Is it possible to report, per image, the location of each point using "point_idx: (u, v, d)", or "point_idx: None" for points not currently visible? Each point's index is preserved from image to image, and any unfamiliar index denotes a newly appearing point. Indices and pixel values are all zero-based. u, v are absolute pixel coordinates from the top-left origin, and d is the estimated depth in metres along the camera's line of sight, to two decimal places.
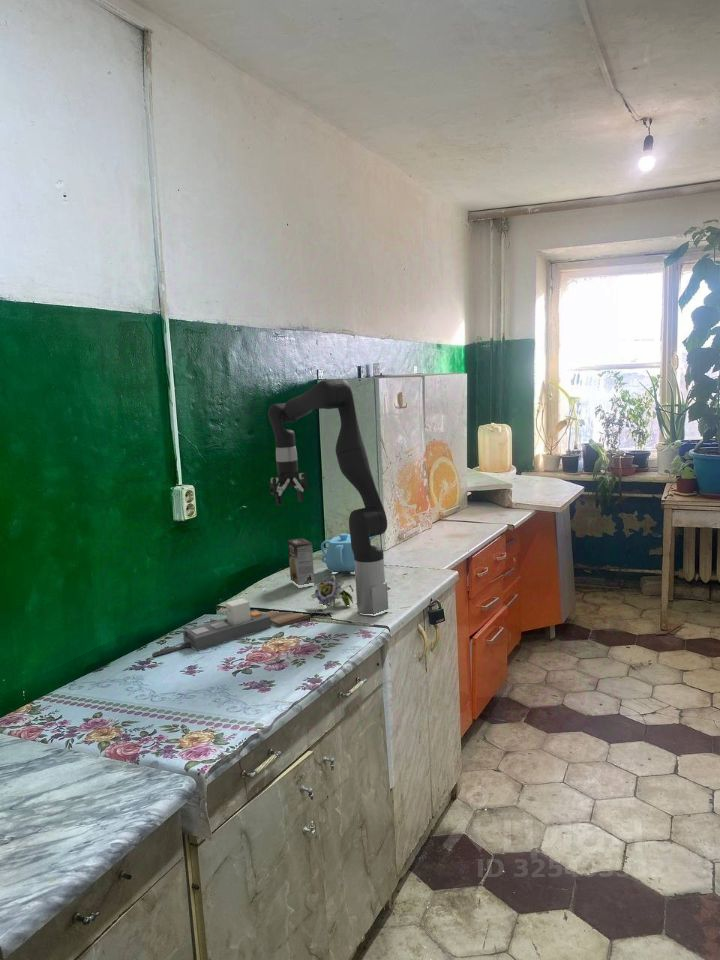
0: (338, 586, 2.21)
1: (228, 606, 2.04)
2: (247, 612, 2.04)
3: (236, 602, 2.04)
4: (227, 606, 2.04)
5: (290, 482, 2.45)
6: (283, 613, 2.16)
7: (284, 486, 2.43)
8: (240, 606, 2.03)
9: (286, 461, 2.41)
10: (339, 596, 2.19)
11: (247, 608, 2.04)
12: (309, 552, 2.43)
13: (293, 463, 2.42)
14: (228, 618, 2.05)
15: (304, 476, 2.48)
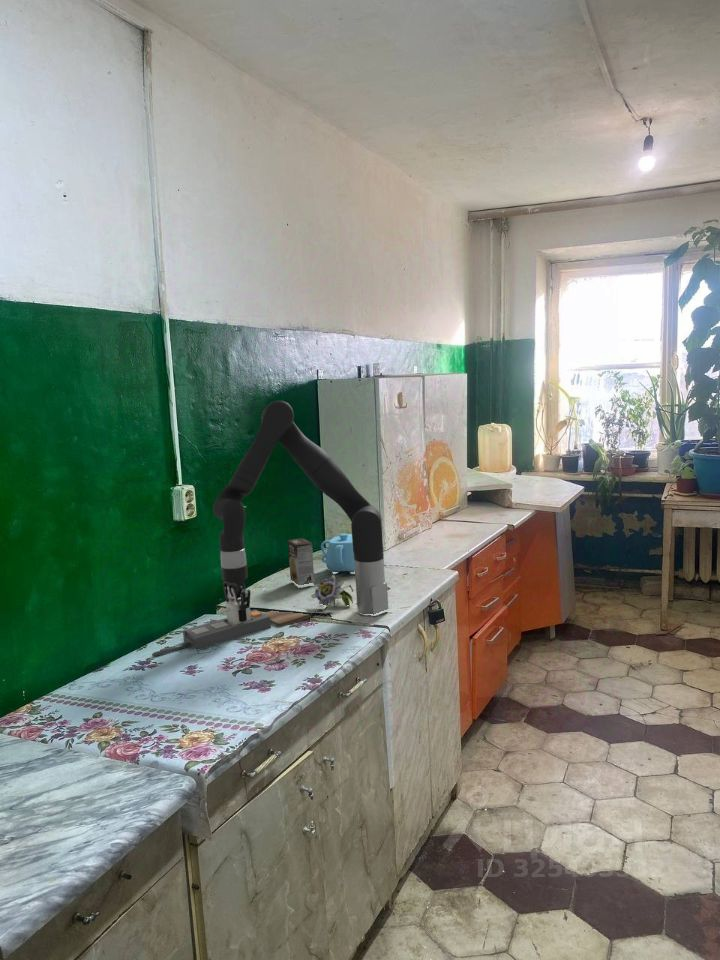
0: (338, 586, 2.21)
1: (228, 606, 2.04)
2: (247, 612, 2.04)
3: None
4: (227, 606, 2.04)
5: None
6: (283, 613, 2.16)
7: None
8: None
9: (246, 563, 2.03)
10: (339, 596, 2.19)
11: (247, 608, 2.04)
12: (309, 552, 2.43)
13: None
14: (229, 618, 2.05)
15: None
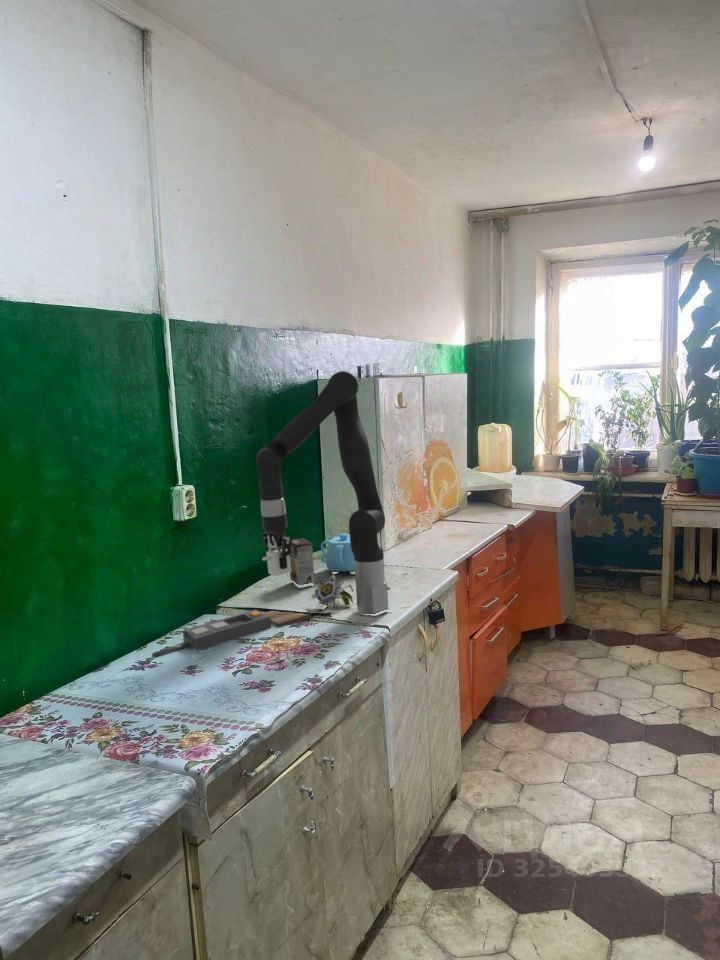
0: (338, 586, 2.21)
1: (269, 554, 2.10)
2: (287, 560, 2.11)
3: (276, 550, 2.11)
4: (268, 554, 2.10)
5: None
6: (283, 613, 2.16)
7: None
8: None
9: None
10: (339, 596, 2.19)
11: (287, 556, 2.10)
12: (309, 552, 2.43)
13: None
14: (269, 567, 2.11)
15: None
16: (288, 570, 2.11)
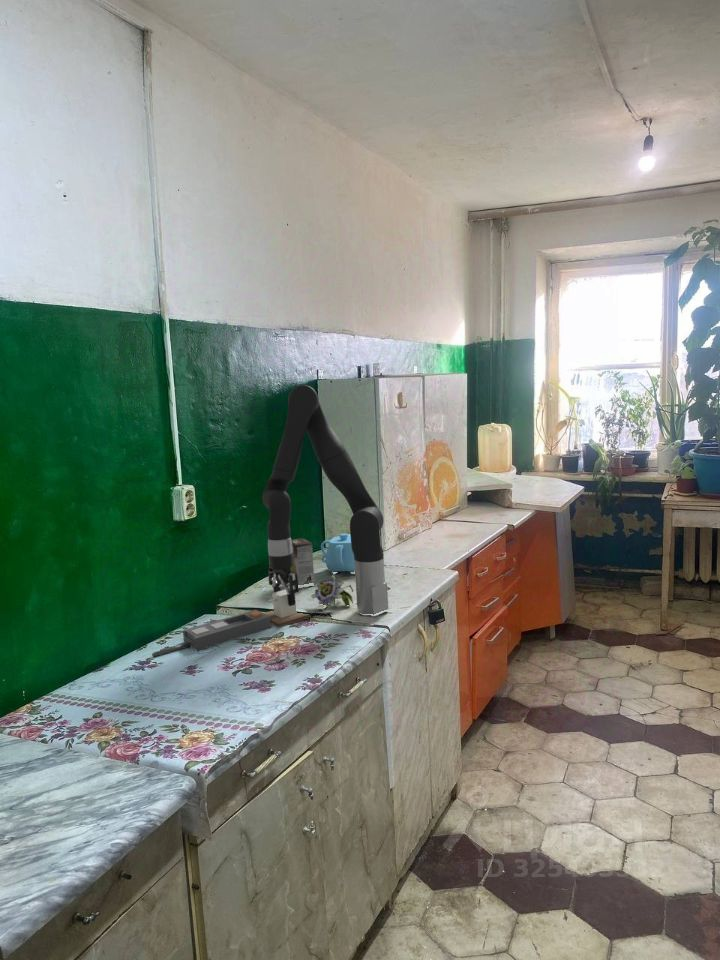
0: (338, 586, 2.21)
1: (275, 596, 2.13)
2: None
3: (282, 592, 2.14)
4: (274, 596, 2.14)
5: None
6: None
7: None
8: (286, 596, 2.12)
9: (292, 552, 2.12)
10: (339, 596, 2.19)
11: None
12: (309, 552, 2.43)
13: None
14: (275, 608, 2.14)
15: None
16: (293, 612, 2.15)
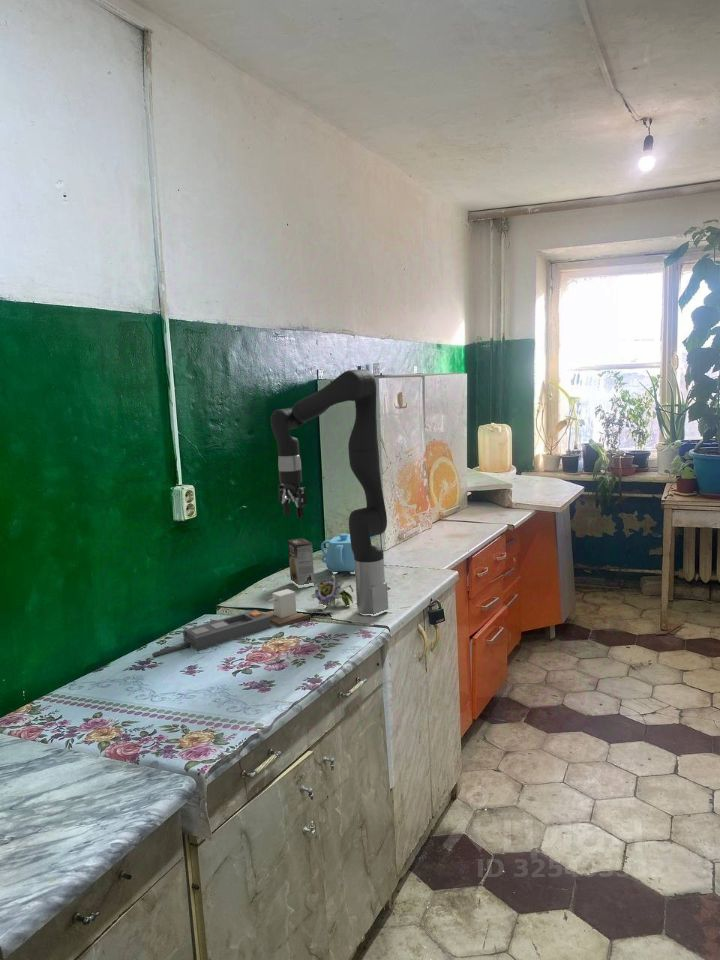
0: None
1: (275, 596, 2.13)
2: (293, 602, 2.14)
3: (282, 592, 2.14)
4: (274, 596, 2.14)
5: None
6: None
7: None
8: (286, 596, 2.12)
9: None
10: (339, 596, 2.19)
11: (293, 598, 2.14)
12: (309, 552, 2.43)
13: None
14: (275, 608, 2.14)
15: None
16: (293, 612, 2.15)
